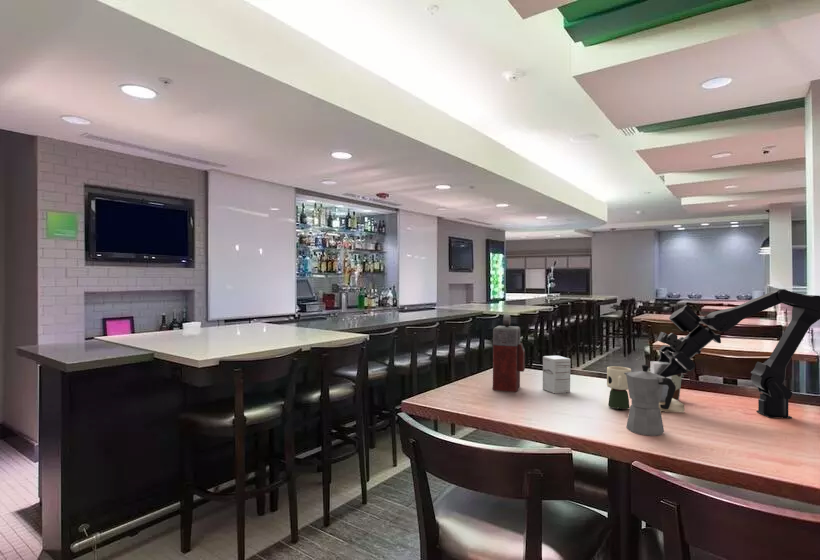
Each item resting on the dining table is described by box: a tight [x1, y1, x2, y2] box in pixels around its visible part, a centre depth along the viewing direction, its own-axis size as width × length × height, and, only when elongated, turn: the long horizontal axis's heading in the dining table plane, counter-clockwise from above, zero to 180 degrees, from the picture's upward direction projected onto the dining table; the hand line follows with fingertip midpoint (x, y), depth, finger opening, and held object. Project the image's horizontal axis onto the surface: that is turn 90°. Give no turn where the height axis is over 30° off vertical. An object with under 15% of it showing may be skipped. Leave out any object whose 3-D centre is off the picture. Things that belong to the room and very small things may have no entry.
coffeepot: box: [624, 364, 676, 437], centre depth 124 cm, size 15×9×18 cm, turn 24°
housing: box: [649, 360, 672, 402], centre depth 149 cm, size 5×5×12 cm
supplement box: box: [542, 355, 572, 394], centre depth 171 cm, size 7×7×13 cm
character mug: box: [606, 365, 632, 411], centre depth 147 cm, size 11×7×13 cm, turn 159°
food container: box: [648, 367, 685, 401], centre depth 162 cm, size 12×6×10 cm, turn 84°
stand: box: [659, 398, 685, 413], centre depth 149 cm, size 10×10×2 cm
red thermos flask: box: [492, 314, 526, 393], centre depth 173 cm, size 9×11×28 cm
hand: (655, 374), depth 149 cm, fingers open, 9 cm apart
